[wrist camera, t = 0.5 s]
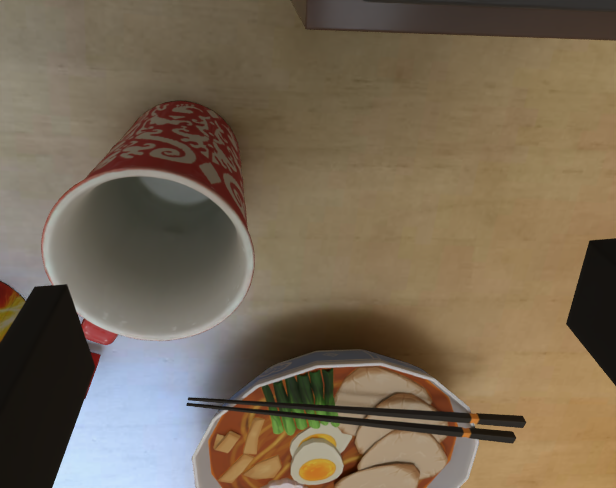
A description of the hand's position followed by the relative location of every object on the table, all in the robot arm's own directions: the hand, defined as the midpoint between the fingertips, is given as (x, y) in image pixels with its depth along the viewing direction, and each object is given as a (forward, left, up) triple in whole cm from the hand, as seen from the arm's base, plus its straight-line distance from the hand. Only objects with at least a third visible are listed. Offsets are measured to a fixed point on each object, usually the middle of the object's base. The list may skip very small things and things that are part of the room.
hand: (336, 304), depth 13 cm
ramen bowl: (+28, +4, -23) cm, 36 cm away
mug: (+6, -8, -23) cm, 25 cm away
